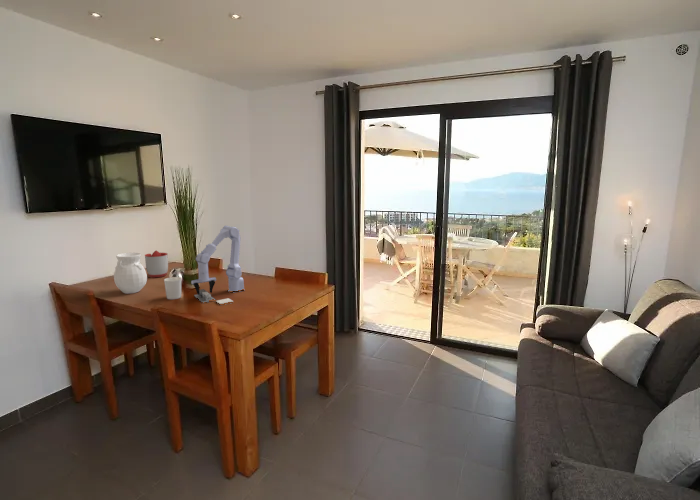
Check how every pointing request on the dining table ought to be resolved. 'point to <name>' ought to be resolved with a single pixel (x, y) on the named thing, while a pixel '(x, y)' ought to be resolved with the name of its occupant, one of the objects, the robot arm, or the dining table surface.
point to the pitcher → (129, 273)
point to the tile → (224, 301)
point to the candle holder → (173, 287)
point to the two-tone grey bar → (204, 294)
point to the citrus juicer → (156, 264)
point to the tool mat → (202, 298)
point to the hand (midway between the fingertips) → (204, 293)
